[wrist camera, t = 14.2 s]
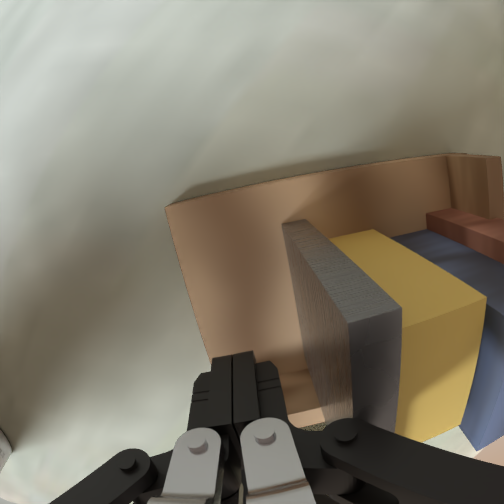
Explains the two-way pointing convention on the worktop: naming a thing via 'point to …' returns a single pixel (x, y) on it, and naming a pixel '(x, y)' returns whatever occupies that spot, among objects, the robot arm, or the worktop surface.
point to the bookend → (345, 330)
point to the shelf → (334, 225)
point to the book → (425, 331)
